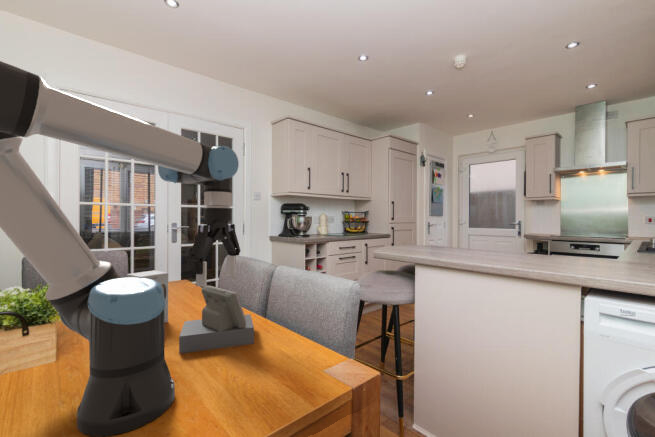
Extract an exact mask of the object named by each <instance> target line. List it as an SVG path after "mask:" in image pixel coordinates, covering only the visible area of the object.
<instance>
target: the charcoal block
mask: <svg viewBox="0 0 655 437" xmlns="http://www.w3.org/2000/svg"><path fill="white" fill-rule="evenodd" d="M244 315H245V318H246V326H245V327H244V328H238V327H233V328H230V329H227V330H224V331H221V332H219V331H217V330H214V329H212V328H209V327H207V326H205V325H202V318H201V319H193V320H185V321H184V323H183V326H182V329H181V331H180V334H179V336H178V342H179V343H178V346H179V347H178V349H179V350H178V352H179V354H186V353H187V354H188V353H194V352H201V351H209V350H216V349H217V350H218V349H223V348H232V347H239V346H245V345H253V344H255V328H254V323H253V319H252V316H251V315H252V314H244ZM179 354H178V355H179Z"/></svg>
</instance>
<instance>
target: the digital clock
mask: <svg viewBox="0 0 655 437" xmlns="http://www.w3.org/2000/svg"><path fill="white" fill-rule="evenodd" d="M201 294H202V297H203V299H204V302H205V304H206V305H205V307H203V308H202V310H201V319H202V325H205V326H207V327H209V328H212V329H214V330H217V331H219V332H221V331H224V330H227V329H230V328H233V327H238V328H244V327H245V326H246V318H245V315H246V314H245V313H244V312H245V311H244V310H243V307H242V304H241V301H240V298H239V296H238V293H237V292H235V291H232V290H228V289H224V288H219V287H216V286H213V285H207V286H206V287H201Z"/></svg>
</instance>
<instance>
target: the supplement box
mask: <svg viewBox="0 0 655 437" xmlns="http://www.w3.org/2000/svg"><path fill="white" fill-rule="evenodd" d="M128 277H138V278H148V279H152V280H155V281H157V282H159V283H160V284H161V285H162V287H163V290H164V298H165V321H164V324H166V323H168V322H169V272H165V271H160V270H155V269H153V270H148V271H140V272H139V271H138V272H134V273H126V278H128Z"/></svg>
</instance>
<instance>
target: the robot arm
mask: <svg viewBox="0 0 655 437" xmlns="http://www.w3.org/2000/svg"><path fill="white" fill-rule="evenodd" d="M34 135H40V136H45V137H46V138H47V137H48V138H52V139H55V140H59V141H63V142H67V143H71V144H75V145H78V146H82V147H85V148H90V149H93V150H97V151H101V152H105V153H109V154H112V155H116V156H120V157H122V158H123V157H124V158H128V159H130V160H135V161H139V162H142V163H146V164H150V165H153V166H157V171H158V175H159V178H160V179H161V180H163V181H164V182H168V183H174V184H176V183H177V184H187V185H199V186H203V193H204V194H203V195H204V196H203V197H204V198H203V202H204V203H203V205H204V207H205V208H204V209H203V220H204V221H205V222H206V224H200V223H199V224H198V225H197V233H196V236H195V239H194V242H193V245H192V248H191V251H190V253H189V257H188V260H189V261H191V262H194V263H195V265H194V268H195V271H194V273H195V286H196V287H201V288H203V287H206V286H208V285H207V283H208V282H207V275H208V273H207V267H208V266H207V265H208V261H205V260H206V258H207V257H208V255H209V253H210V251H211V249H212V247H213V245H214V243H215V242H217V241H220V242H221V243H222V245H223V247H224V248H225V250H226V253H227V254H228V255H226V278H236V272H237V271H236V269H237V268H236V267H237V266H236V265H237V257H239V255H240V253H241V246H240V243H239V240H238V237H237V234H236V225H235V224H234V223H229V222H231V221H232V215H233V214H232V209H231V207H232V206H233V202H232V201H233V200H232V199H233V198H232V195H233V194H232V193H233V191H232V190H233V177H234V176H235V175H236V173H237V172H238V169H239V158H238V155H237V153H236V152H235V151H234V150H233V149H232V148H231V147H230V146H226V145H214V146H212V145H208V144H205V143H202V142H199V141H196V140H193V139H191V138H188V137H187V136H186V137H185V136H182V135H180V134H178V133H175V132H172V131H169V130H167V129H164V128H162V127H160V126H159V127H158V126H156V125H153V124H150V123H148V122H145V121H143V120H140V119H138V118H134V117H131V116H129V115H126V114H123V113H121V112H118V111H115V110H113V109H109V108H107V107H105V106H102V105H99V104H96V103H93V102H91V101H88V100H85V99H83V98H80V97H77V96H75V95H72V94H70V93H67V92H64V91H61V90H58V89H57V88H53V87H50V86H49V85H48V84H47V83H46V80H45V79H43V77H42V76H40V75H38V74H35V73H33V72H30V71H28V70H25V69H23V68H20V67H18V66H14V65H12V64H9V63H6V62H4V61H2V60H0V229H1V231H3V233H5V235H6V236H7V237H8V239H10V241H11V242H12V243H13V245H14V246H15V247H16V249H18V250H19V252H20V253H21V254H22V255H23V256H24V258H25V259H26V260H27V261H28V263H30V265H31V266H32V267H33V268H34V269H35V271H36V272H37V273H38V274H39V276H40V277H41V278H42V279H43V280H44V282H45V283H46V284H47V285H48V288H47V290H46V293H45V295H44V297H45V299H46V300H47V301H48V302H49V304H50V305H51V306H52V307H53V308H54V309H55V311H56V312H57V313H58V316H59V317H60V321H61V322H62V324H63V325H64V326H65V327H66V328H67V329H70V330H71V331H73V332H75V333H77V334H78V335H80V336H81V337H82V338H84V339H86V340H87V341H88V344H89V345H88V346H89V376H88V379H87V380H88V381H87V382H86V386H85V389H84V391H83V394H82V398H81V401H80V404H79V405H78V407H77V410H76V428H77V429H78V431H79V432H81V433H82V434H84V435H85V436H89V437H90V436H91V437H108V436H115V435H120V434H123V433H127V432H130V431H133V430H136V429H138V428H141V427H143V426H144V425H147V424H149V423H150V422H152V421H154V420H156V419H157V418H159V417H160V416H161V415H163V413H165V412H166V411H167V410H168V409H169V408H170V407H171V405H172V404H173V402H174V400H175V397H176V395H175V394H176V392H175V390H176V389H175V388H176V387H175V381H174V380H173V378H172V376H171V372H170V369H169V367H168V364H167V361H166V359H165V323H164V321H165V298H164V290H163V287H162V285H161V284H160V283H159V282H157V281H155V280H152V279H148V278H138V277H128V278H127V277H121V276H120V274H119V273H118V272H117V270H116V269H115V267H114V266H113V265H112V263H111V262H109V261H104V260H99V259H97V257H96V255H95V254H94V253H93V251H92V250H91V249H90V247H89V246H88V245H87V243H86V242H85V241H84V239H83V238H82V236H81V235H80V234H79V232H78V231H77V229H76V228H75V227H74V226H73V224H72V223H71V221H70V220H69V218H68V216H66V214H65V213H64V211H63V210H62V209H61V208H60V206H59V205H58V203H57V202H56V200H55V199H54V197H53V196H52V195H51V194H50V192H49V191H48V189H47V188H46V187H45V185H44V184H43V183H42V181H41V179H40V178H39V177H38V176H37V175H36V173H35V171H34V170H33V169H32V168H31V165H29V163H28V162H27V160H26V159H25V157H24V156H23V154H21V152H20V146H21V144H22V142H23V138H28V137H31V136H34Z"/></svg>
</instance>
